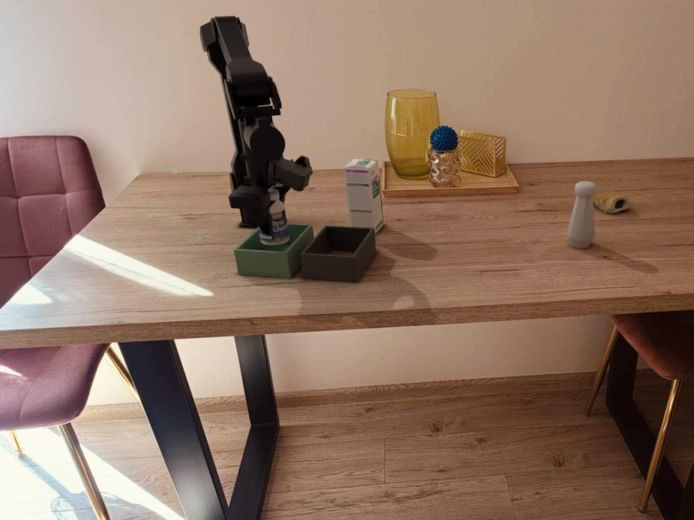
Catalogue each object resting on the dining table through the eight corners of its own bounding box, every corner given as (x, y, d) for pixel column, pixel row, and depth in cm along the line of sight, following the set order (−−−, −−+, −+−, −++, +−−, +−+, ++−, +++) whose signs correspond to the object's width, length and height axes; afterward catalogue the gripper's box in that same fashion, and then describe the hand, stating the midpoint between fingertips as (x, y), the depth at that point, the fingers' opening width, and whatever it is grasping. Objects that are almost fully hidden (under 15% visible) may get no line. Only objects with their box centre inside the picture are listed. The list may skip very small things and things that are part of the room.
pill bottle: (278, 248, 121) (270, 198, 116) (255, 243, 123) (245, 194, 117) (295, 237, 125) (288, 189, 120) (272, 233, 127) (264, 185, 121)
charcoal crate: (303, 278, 119) (300, 254, 116) (327, 248, 131) (325, 225, 128) (356, 282, 118) (354, 257, 115) (376, 251, 130) (374, 227, 127)
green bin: (238, 274, 121) (233, 249, 118) (268, 244, 132) (264, 221, 130) (290, 277, 119) (286, 253, 117) (315, 247, 131) (312, 224, 129)
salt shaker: (596, 241, 134) (603, 180, 127) (591, 251, 130) (599, 189, 123) (568, 237, 136) (574, 177, 129) (563, 247, 131) (569, 185, 124)
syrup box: (376, 234, 137) (370, 167, 129) (349, 232, 138) (343, 165, 130) (384, 224, 142) (379, 159, 134) (358, 222, 143) (352, 157, 135)
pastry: (584, 202, 154) (585, 187, 152) (606, 198, 157) (608, 183, 155) (609, 215, 147) (611, 199, 145) (631, 210, 150) (634, 194, 148)
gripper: (283, 163, 105) (296, 251, 114) (320, 134, 121) (329, 213, 129) (219, 160, 107) (236, 247, 115) (263, 132, 122) (276, 210, 131)
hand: (273, 228), depth 122 cm, fingers closed on pill bottle, 5 cm apart
